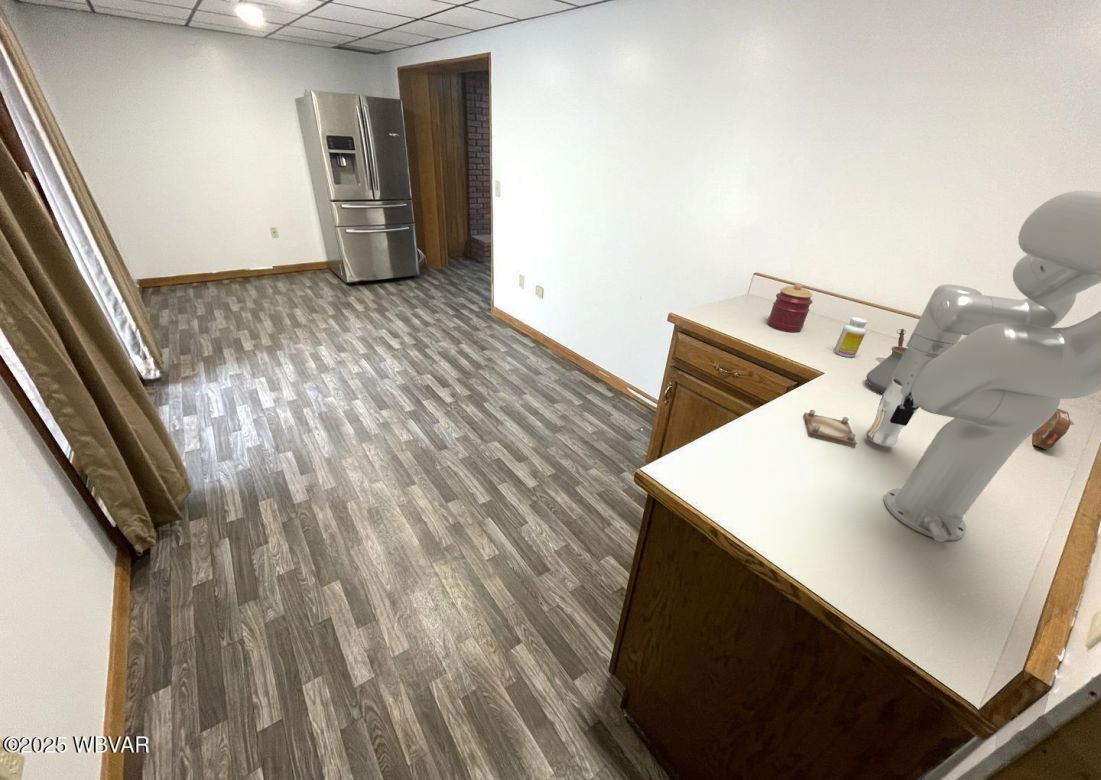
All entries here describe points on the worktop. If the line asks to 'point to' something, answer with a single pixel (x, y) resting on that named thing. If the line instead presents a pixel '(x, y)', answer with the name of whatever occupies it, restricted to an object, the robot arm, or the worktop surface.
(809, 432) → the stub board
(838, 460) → the worktop surface
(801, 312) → the canister
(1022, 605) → the worktop surface
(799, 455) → the worktop surface
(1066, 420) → the brown snack package
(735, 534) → the worktop surface
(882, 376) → the coffee pot
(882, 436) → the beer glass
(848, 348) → the supplement bottle
